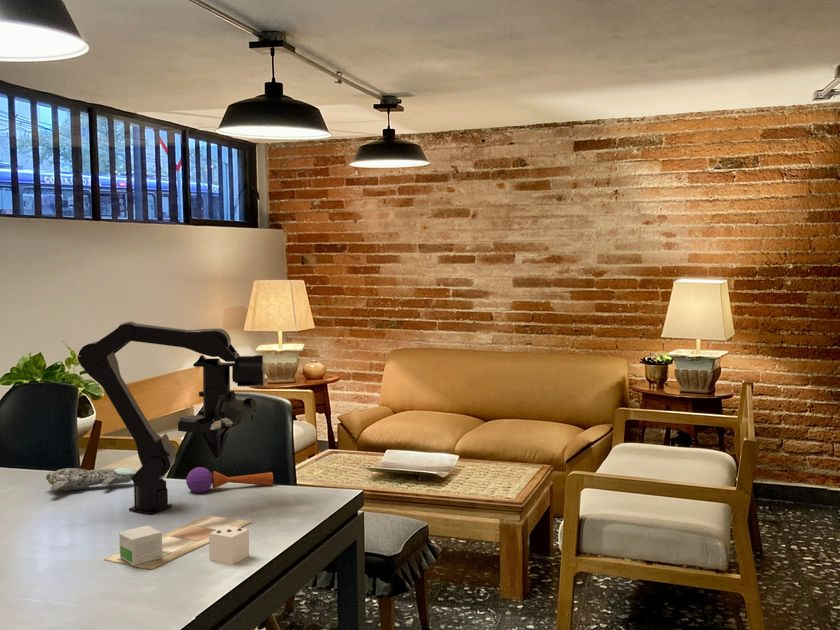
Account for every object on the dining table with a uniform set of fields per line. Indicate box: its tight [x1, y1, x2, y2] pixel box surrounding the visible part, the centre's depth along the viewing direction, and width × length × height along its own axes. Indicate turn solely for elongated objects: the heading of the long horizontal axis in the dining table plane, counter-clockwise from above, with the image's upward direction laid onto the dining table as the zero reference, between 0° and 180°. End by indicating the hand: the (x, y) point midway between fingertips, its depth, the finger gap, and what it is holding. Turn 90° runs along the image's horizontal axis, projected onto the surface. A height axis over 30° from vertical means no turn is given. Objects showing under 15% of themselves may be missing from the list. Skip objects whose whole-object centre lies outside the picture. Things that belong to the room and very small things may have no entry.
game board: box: [103, 514, 252, 571], centre depth 158 cm, size 11×29×1 cm, turn 156°
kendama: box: [185, 466, 274, 494], centre depth 195 cm, size 6×6×20 cm
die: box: [208, 526, 250, 565], centre depth 149 cm, size 5×5×5 cm
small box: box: [119, 525, 163, 567], centre depth 147 cm, size 6×6×5 cm
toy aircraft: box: [45, 467, 137, 492], centre depth 194 cm, size 16×20×5 cm
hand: (217, 457), depth 179 cm, fingers closed
